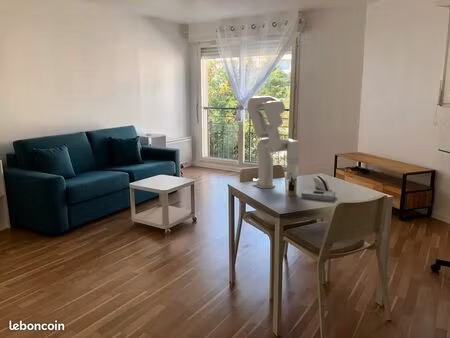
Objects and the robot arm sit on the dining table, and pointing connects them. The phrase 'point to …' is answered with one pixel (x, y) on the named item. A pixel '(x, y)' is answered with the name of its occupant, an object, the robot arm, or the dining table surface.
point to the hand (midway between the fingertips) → (292, 189)
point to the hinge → (321, 183)
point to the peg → (294, 188)
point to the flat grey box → (318, 195)
